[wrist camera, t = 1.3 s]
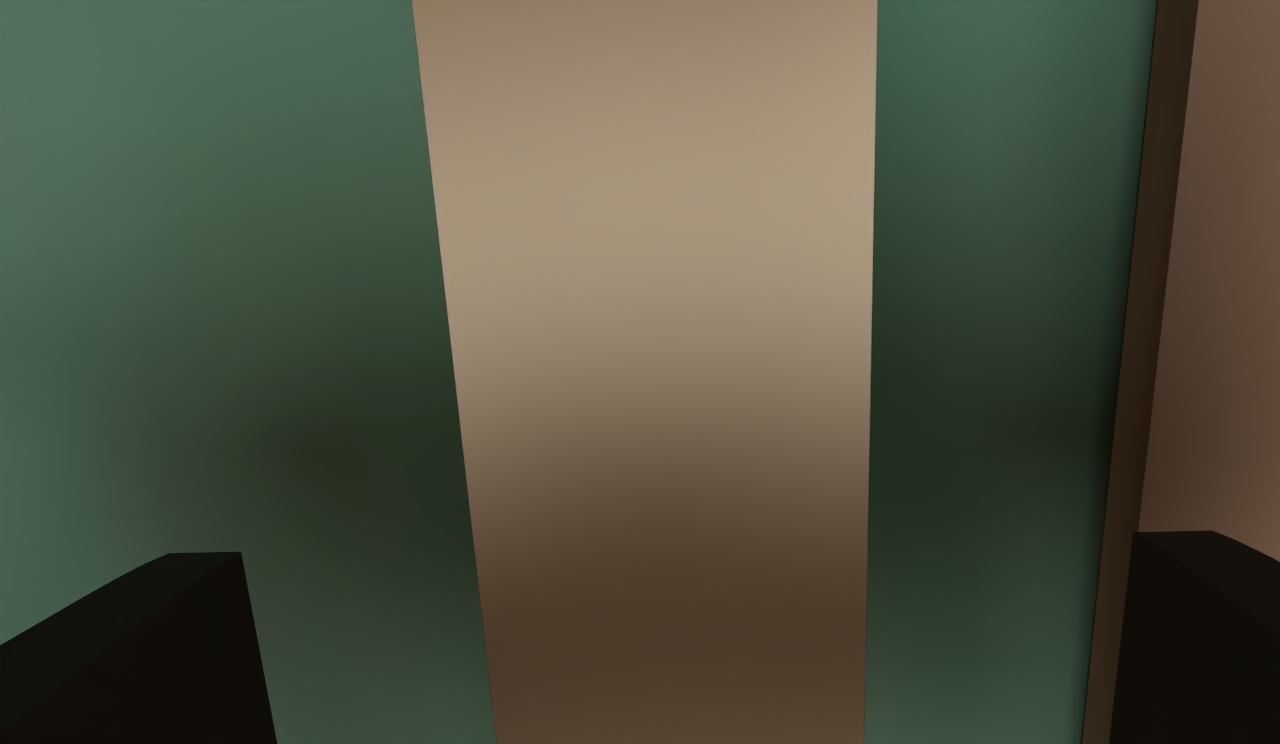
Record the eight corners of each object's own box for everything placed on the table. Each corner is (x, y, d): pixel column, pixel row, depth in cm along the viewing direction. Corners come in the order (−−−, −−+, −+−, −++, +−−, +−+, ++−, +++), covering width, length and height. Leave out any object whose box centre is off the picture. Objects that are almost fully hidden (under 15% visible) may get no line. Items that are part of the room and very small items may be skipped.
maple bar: (807, 1045, 18) (851, 1450, 13) (605, 1045, 18) (576, 1446, 13) (803, -615, 11) (896, -1032, 6) (467, -590, 11) (299, -978, 6)
